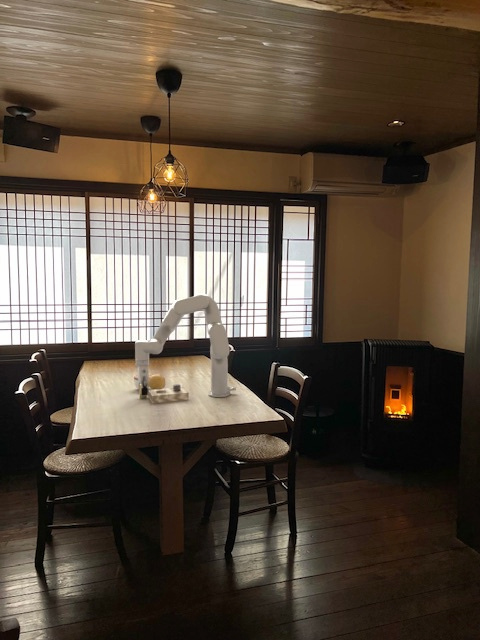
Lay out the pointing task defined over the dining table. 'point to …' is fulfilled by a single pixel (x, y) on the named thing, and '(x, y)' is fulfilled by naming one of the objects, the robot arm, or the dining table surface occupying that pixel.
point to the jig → (168, 394)
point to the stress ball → (156, 382)
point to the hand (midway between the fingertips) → (143, 392)
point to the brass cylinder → (141, 393)
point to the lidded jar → (138, 382)
